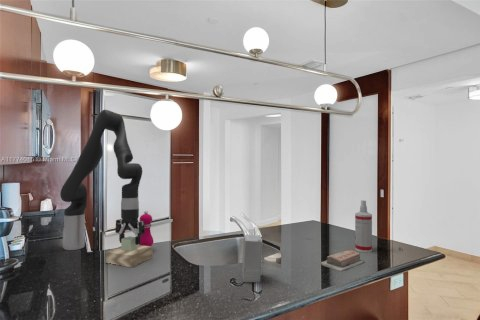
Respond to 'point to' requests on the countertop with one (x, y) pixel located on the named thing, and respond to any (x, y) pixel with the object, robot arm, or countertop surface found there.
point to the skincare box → (252, 258)
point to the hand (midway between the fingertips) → (129, 243)
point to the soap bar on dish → (343, 260)
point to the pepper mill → (146, 230)
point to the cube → (128, 244)
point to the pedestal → (129, 256)
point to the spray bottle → (363, 229)
